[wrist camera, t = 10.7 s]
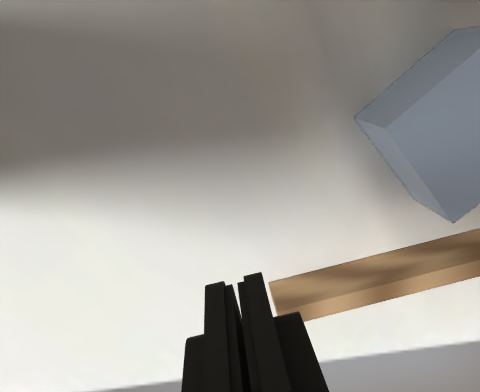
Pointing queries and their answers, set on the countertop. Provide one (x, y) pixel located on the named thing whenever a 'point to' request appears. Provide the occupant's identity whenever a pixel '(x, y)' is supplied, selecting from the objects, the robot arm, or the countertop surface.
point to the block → (434, 126)
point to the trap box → (379, 277)
